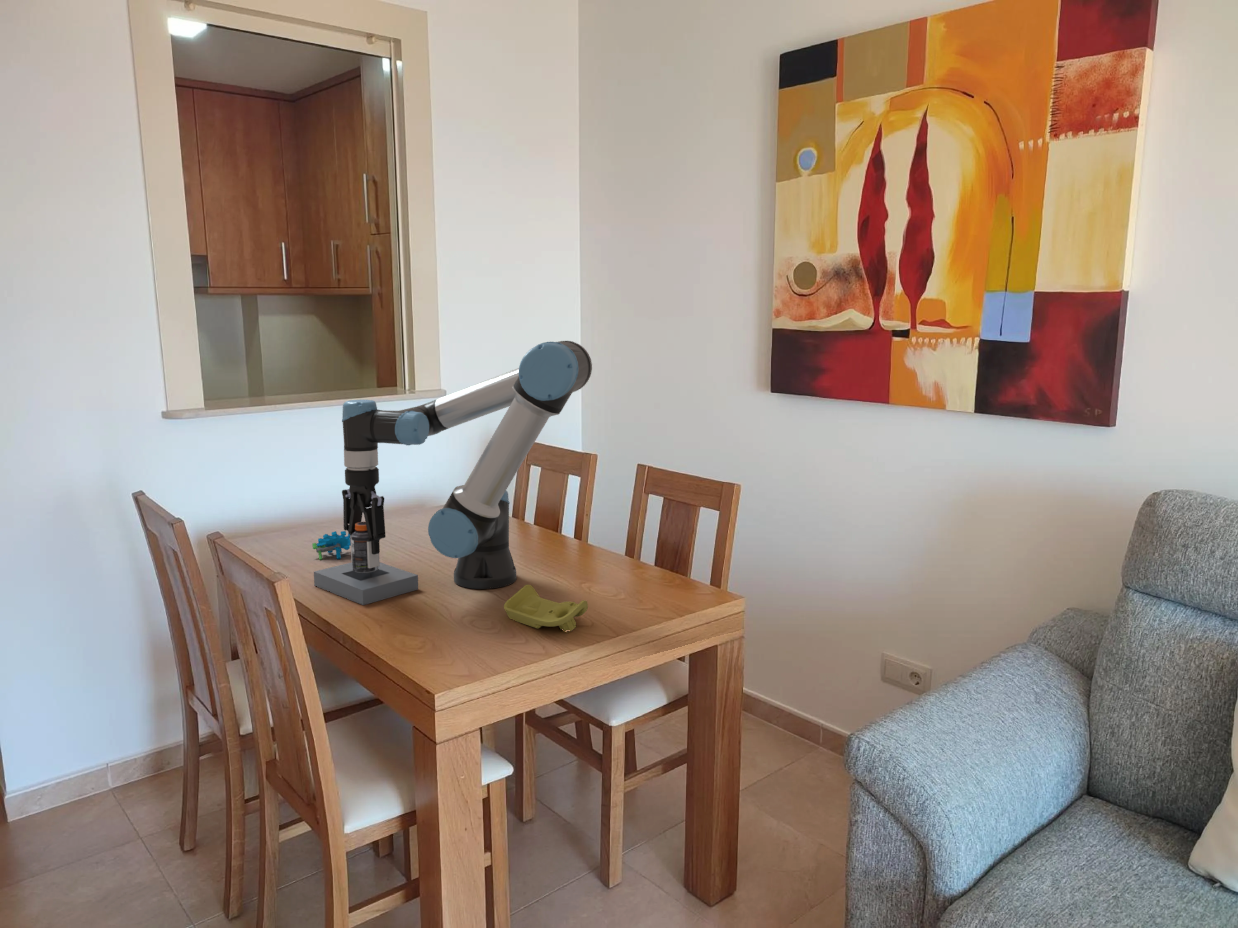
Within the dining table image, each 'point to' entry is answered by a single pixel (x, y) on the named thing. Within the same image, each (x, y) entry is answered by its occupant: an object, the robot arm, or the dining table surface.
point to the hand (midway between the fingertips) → (365, 563)
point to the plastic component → (542, 610)
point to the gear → (332, 544)
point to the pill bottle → (360, 549)
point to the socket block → (366, 582)
